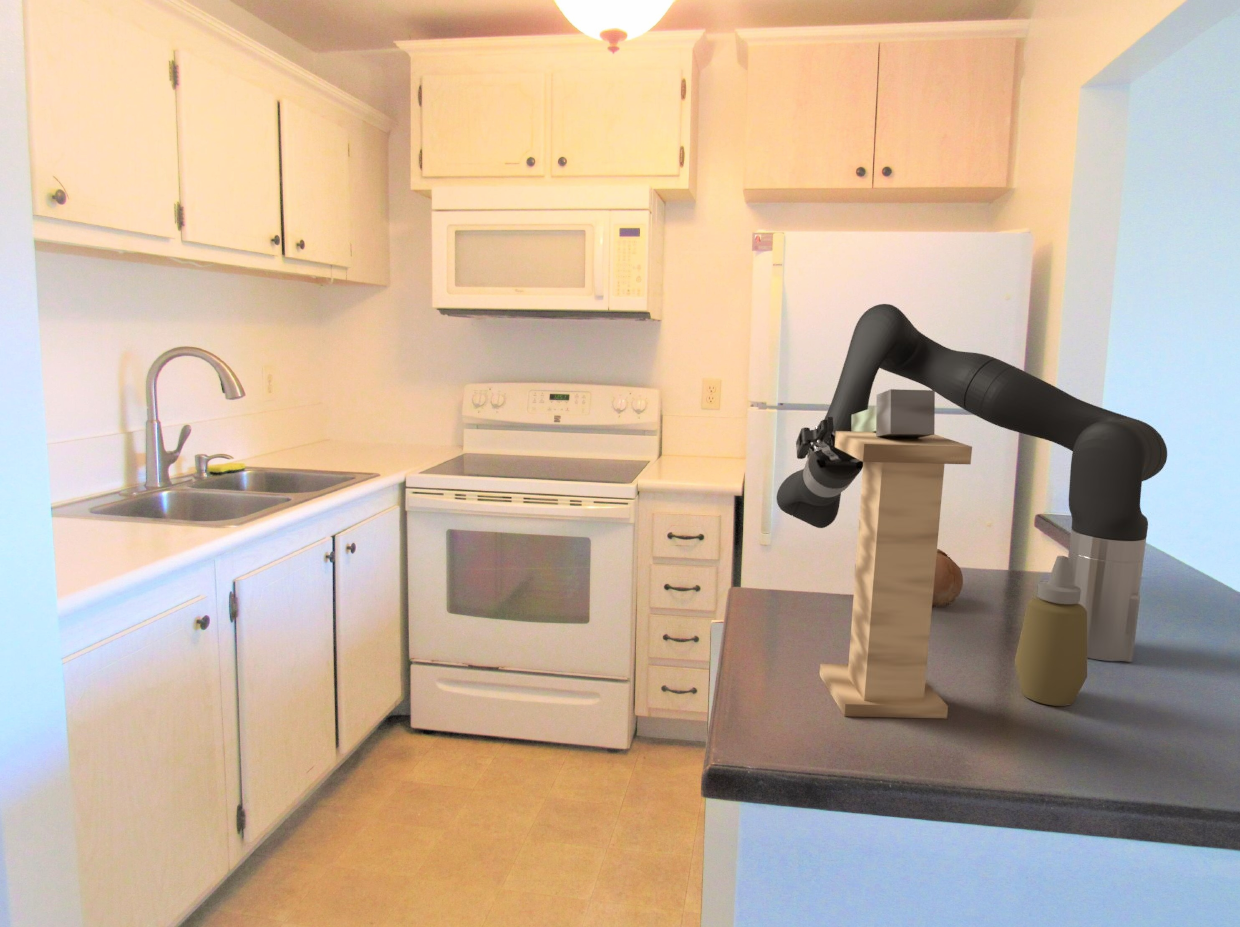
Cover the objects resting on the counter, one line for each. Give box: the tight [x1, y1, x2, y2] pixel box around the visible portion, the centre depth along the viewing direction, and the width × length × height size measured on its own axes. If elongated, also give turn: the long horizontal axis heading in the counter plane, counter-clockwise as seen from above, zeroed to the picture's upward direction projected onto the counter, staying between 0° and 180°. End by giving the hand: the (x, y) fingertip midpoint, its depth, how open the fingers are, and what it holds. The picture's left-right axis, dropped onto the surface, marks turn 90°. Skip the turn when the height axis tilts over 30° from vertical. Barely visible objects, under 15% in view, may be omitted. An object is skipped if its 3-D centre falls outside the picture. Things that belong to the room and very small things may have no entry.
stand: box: [819, 431, 973, 719], centre depth 102 cm, size 12×12×32 cm
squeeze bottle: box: [1014, 555, 1088, 707], centre depth 104 cm, size 8×8×18 cm
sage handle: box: [851, 388, 936, 438], centre depth 105 cm, size 18×5×5 cm, turn 1°
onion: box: [932, 548, 964, 607], centre depth 140 cm, size 10×9×10 cm
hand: (862, 423), depth 114 cm, fingers open, 8 cm apart
